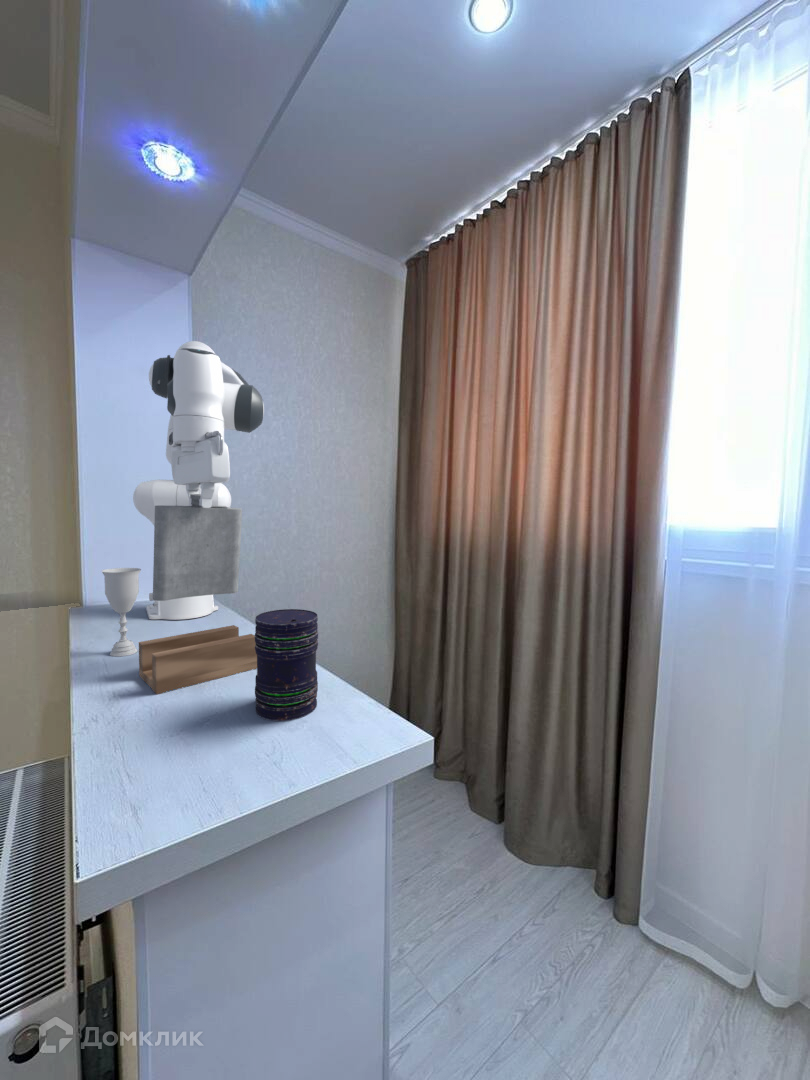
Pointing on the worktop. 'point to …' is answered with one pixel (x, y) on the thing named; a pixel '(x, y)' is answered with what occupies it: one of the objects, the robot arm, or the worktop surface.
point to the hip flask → (196, 550)
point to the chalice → (122, 602)
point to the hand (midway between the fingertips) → (200, 507)
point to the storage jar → (286, 664)
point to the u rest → (195, 657)
